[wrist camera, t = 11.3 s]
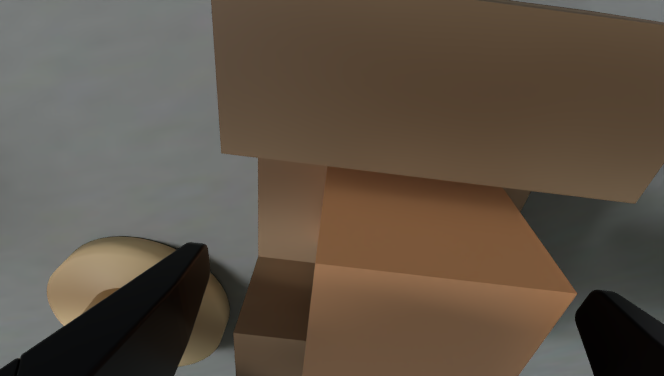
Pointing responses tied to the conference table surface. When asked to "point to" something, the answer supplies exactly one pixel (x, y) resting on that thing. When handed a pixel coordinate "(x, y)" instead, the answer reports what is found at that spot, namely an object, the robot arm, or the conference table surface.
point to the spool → (117, 270)
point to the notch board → (421, 118)
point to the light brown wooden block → (427, 280)
